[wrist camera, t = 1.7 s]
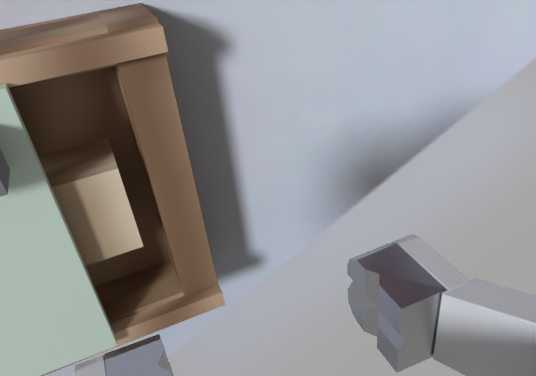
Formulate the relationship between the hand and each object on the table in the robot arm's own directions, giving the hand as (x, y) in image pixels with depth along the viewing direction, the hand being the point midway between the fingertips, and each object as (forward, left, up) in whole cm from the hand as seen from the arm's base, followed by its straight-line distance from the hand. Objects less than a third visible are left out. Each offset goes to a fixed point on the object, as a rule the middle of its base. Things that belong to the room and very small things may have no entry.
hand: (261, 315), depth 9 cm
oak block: (+4, +5, -17) cm, 18 cm away
